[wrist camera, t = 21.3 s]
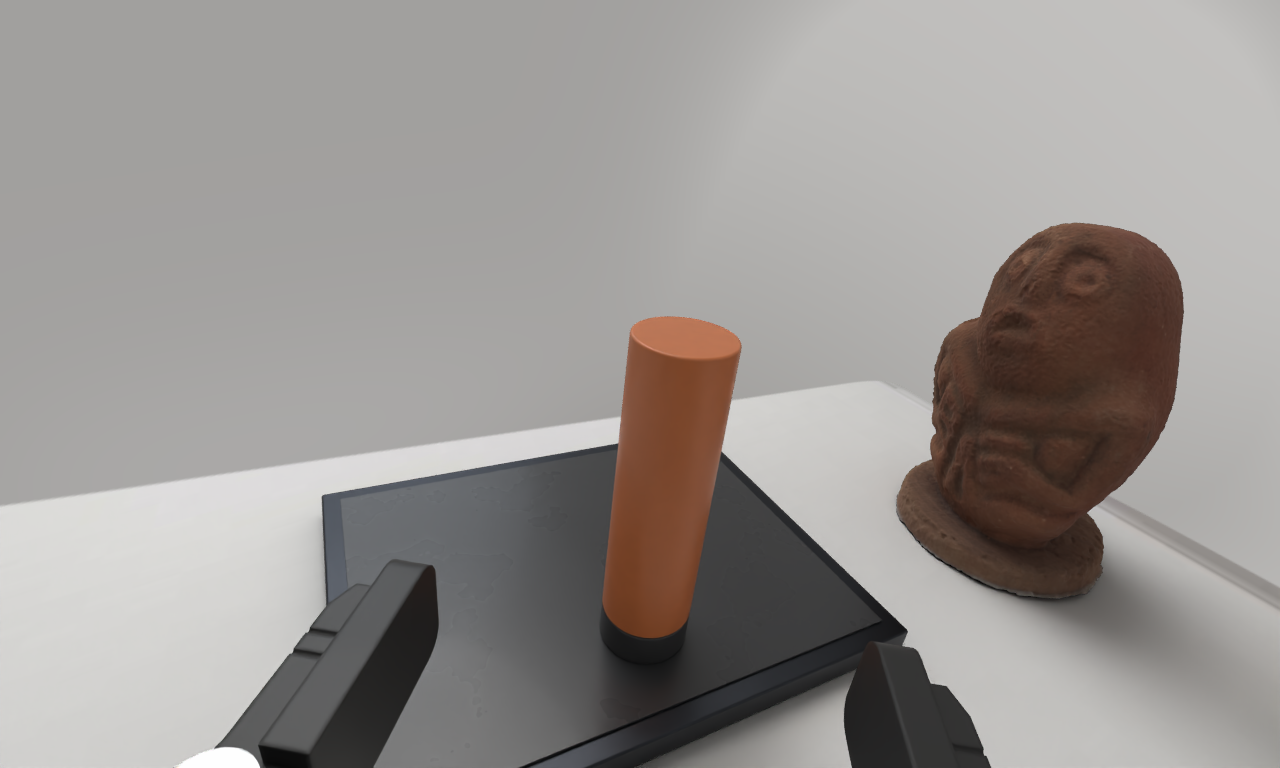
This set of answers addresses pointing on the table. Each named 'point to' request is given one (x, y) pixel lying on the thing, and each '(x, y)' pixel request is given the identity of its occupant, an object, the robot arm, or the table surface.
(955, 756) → the robot arm
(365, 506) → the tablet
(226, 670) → the table surface
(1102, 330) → the figurine
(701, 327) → the orange cylinder
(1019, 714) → the table surface
